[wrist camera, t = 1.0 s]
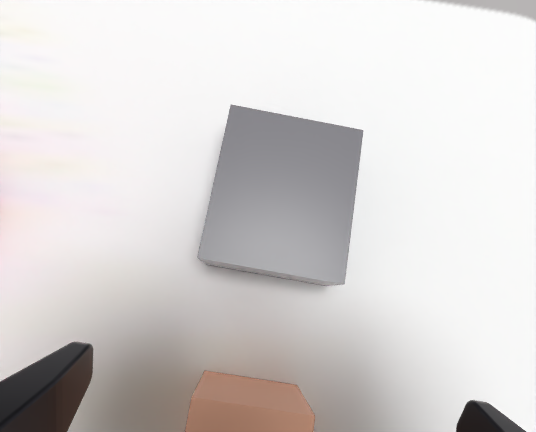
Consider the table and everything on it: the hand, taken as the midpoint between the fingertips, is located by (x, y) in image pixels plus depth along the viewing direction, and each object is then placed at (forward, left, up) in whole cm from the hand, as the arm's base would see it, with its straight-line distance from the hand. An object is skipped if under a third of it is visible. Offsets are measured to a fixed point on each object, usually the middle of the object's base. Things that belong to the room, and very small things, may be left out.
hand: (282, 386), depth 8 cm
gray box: (+7, 0, -12) cm, 14 cm away
